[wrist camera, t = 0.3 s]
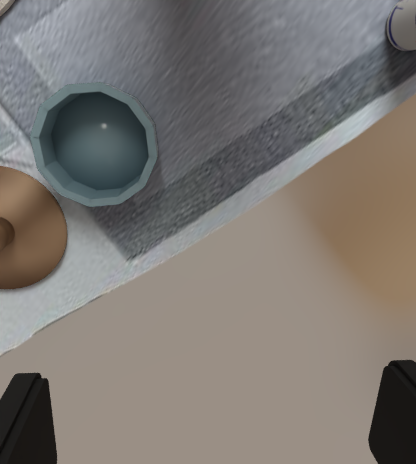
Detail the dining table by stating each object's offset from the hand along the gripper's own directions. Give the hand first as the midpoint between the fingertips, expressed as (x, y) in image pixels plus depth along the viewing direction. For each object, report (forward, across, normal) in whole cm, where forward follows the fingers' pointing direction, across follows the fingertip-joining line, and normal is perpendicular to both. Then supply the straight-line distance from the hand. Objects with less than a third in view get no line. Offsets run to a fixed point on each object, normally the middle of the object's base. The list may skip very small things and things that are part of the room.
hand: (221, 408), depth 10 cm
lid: (+37, +21, +7) cm, 43 cm away
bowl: (+36, +9, -4) cm, 37 cm away
